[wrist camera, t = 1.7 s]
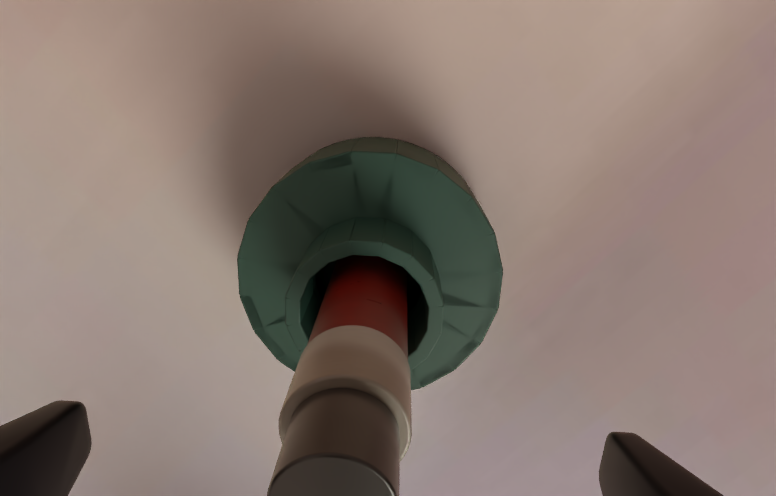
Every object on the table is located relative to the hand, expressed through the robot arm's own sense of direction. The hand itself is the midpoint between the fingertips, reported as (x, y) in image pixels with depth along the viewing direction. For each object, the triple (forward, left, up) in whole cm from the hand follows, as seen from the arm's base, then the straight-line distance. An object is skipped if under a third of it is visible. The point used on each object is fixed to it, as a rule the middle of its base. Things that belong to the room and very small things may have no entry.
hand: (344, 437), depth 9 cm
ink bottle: (0, 0, -9) cm, 9 cm away
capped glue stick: (0, 0, -9) cm, 9 cm away
